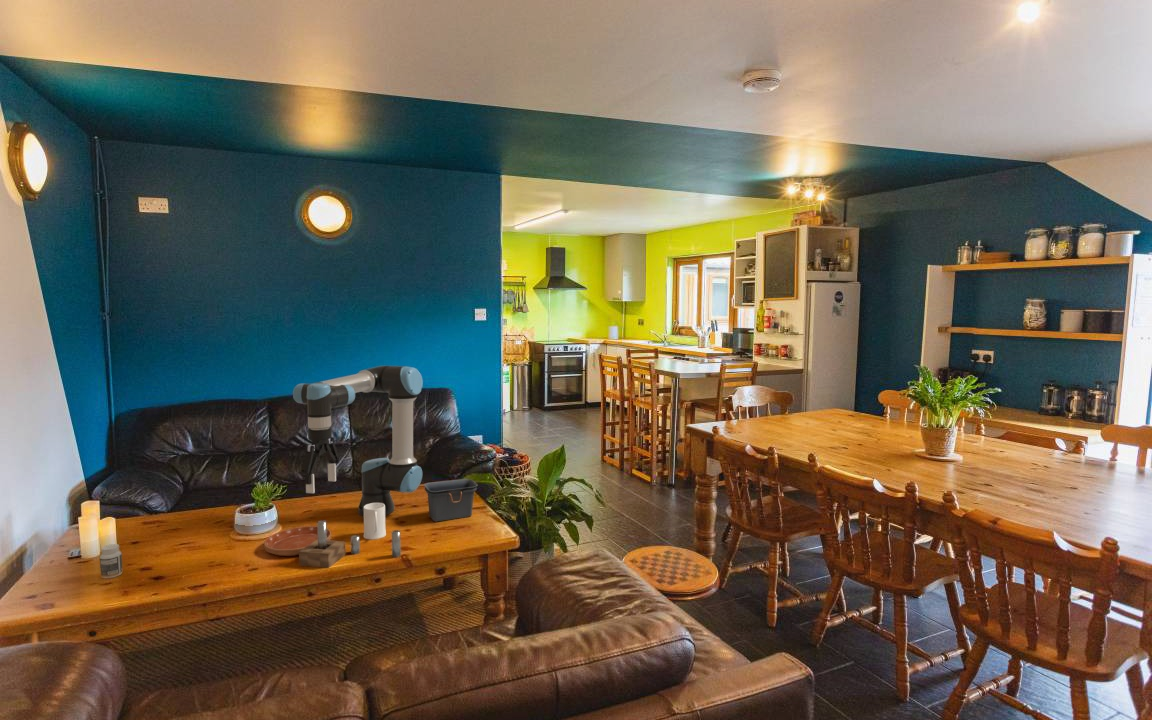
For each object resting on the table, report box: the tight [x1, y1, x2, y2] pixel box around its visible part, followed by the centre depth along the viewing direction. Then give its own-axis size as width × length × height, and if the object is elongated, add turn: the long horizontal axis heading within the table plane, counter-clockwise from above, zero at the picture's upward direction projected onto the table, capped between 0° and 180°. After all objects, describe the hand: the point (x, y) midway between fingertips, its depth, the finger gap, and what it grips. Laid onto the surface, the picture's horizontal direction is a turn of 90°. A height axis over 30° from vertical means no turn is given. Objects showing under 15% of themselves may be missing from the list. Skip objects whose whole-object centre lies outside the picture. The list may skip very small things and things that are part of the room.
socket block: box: [298, 539, 346, 569], centre depth 212 cm, size 11×11×5 cm
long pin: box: [316, 520, 328, 550], centre depth 212 cm, size 3×3×14 cm
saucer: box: [263, 525, 332, 557], centre depth 225 cm, size 23×23×4 cm
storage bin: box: [423, 478, 478, 523], centre depth 256 cm, size 21×16×14 cm
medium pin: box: [391, 529, 402, 558], centre depth 216 cm, size 3×3×9 cm
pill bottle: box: [99, 543, 124, 580], centre depth 198 cm, size 6×6×10 cm
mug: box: [363, 503, 387, 540], centre depth 234 cm, size 12×8×12 cm
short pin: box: [350, 534, 361, 555], centre depth 219 cm, size 3×3×6 cm
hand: (321, 486), depth 211 cm, fingers open, 13 cm apart
